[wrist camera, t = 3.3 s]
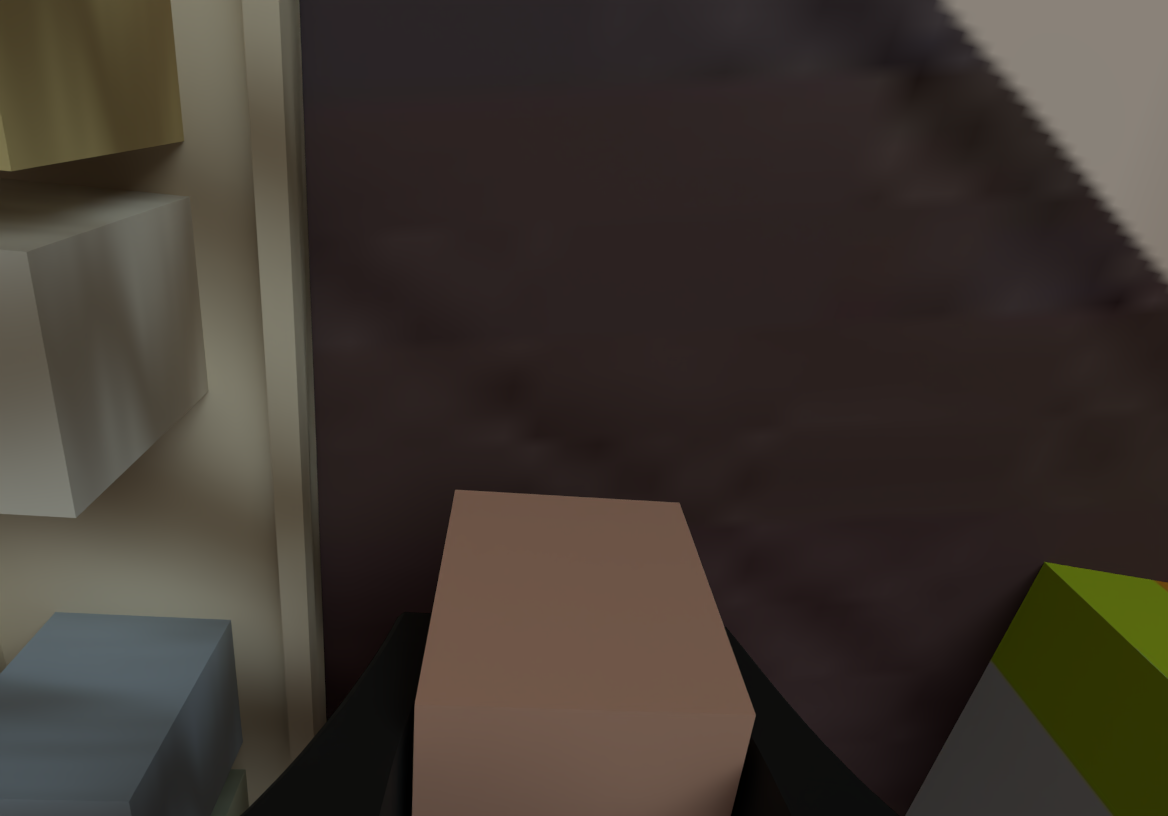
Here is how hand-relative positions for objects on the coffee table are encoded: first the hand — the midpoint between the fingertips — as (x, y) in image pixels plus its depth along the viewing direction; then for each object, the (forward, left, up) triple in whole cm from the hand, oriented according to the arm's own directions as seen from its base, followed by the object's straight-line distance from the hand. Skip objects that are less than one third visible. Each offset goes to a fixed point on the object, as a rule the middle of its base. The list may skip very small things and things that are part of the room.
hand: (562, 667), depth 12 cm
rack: (-1, +10, -6) cm, 11 cm away
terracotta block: (0, 0, -2) cm, 2 cm away
